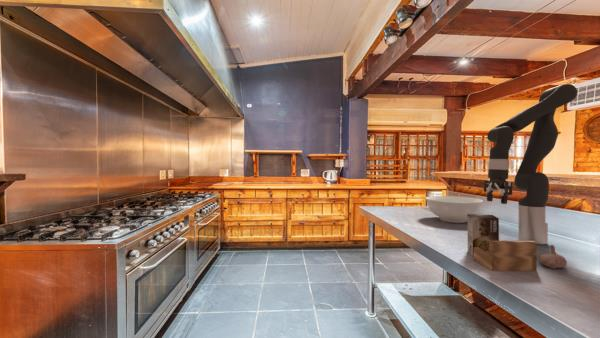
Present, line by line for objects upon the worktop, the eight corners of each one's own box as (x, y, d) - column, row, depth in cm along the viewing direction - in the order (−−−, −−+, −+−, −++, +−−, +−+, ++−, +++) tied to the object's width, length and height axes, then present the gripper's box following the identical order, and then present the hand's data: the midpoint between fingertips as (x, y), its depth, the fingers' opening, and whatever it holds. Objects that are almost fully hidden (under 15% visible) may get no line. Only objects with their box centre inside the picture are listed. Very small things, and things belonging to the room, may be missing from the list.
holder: (513, 260, 92) (513, 234, 92) (536, 270, 82) (536, 242, 82) (473, 260, 92) (473, 234, 92) (492, 270, 83) (492, 241, 83)
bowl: (419, 221, 157) (419, 199, 157) (431, 213, 182) (431, 194, 181) (480, 229, 136) (480, 203, 136) (484, 219, 160) (484, 197, 160)
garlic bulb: (551, 271, 82) (551, 248, 82) (532, 262, 90) (532, 241, 90) (574, 271, 82) (574, 248, 82) (553, 262, 89) (553, 241, 89)
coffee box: (492, 253, 99) (492, 214, 99) (499, 258, 93) (499, 217, 93) (466, 250, 102) (466, 213, 102) (472, 256, 96) (472, 216, 96)
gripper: (519, 169, 107) (517, 205, 107) (494, 169, 121) (492, 200, 122) (502, 168, 107) (500, 204, 108) (479, 168, 122) (477, 200, 122)
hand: (496, 202), depth 115 cm, fingers open, 8 cm apart
